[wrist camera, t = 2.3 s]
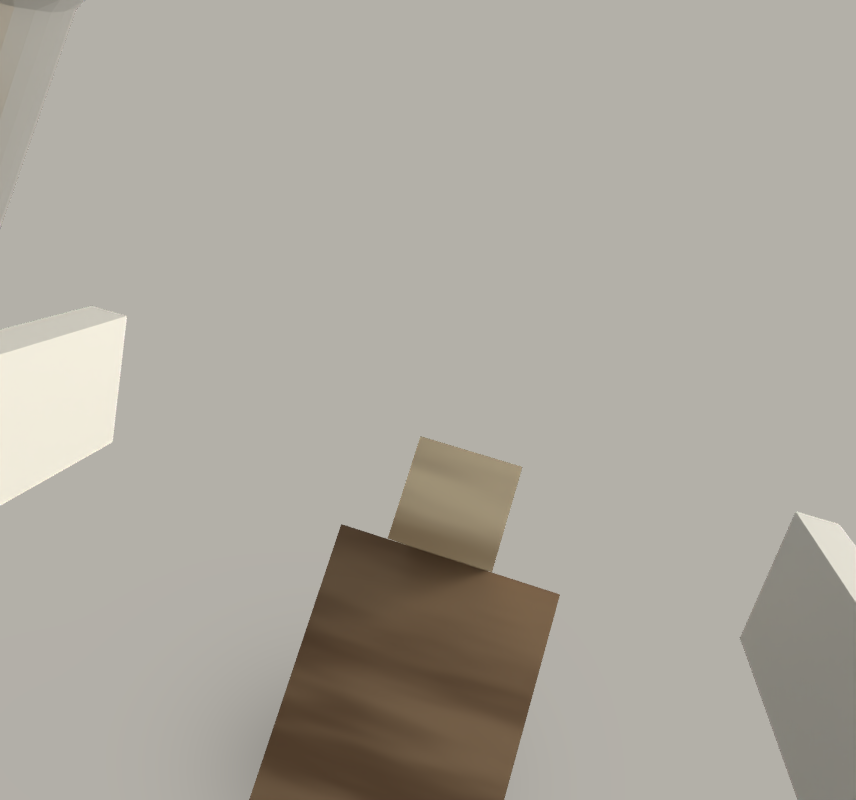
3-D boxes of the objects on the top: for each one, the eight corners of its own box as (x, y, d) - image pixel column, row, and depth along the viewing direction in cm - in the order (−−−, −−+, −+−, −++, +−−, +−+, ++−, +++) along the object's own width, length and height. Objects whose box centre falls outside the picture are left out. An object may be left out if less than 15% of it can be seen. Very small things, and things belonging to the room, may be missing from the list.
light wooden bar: (503, 575, 25) (533, 470, 25) (376, 534, 25) (409, 432, 26) (489, 572, 45) (506, 514, 46) (419, 549, 46) (436, 492, 46)
